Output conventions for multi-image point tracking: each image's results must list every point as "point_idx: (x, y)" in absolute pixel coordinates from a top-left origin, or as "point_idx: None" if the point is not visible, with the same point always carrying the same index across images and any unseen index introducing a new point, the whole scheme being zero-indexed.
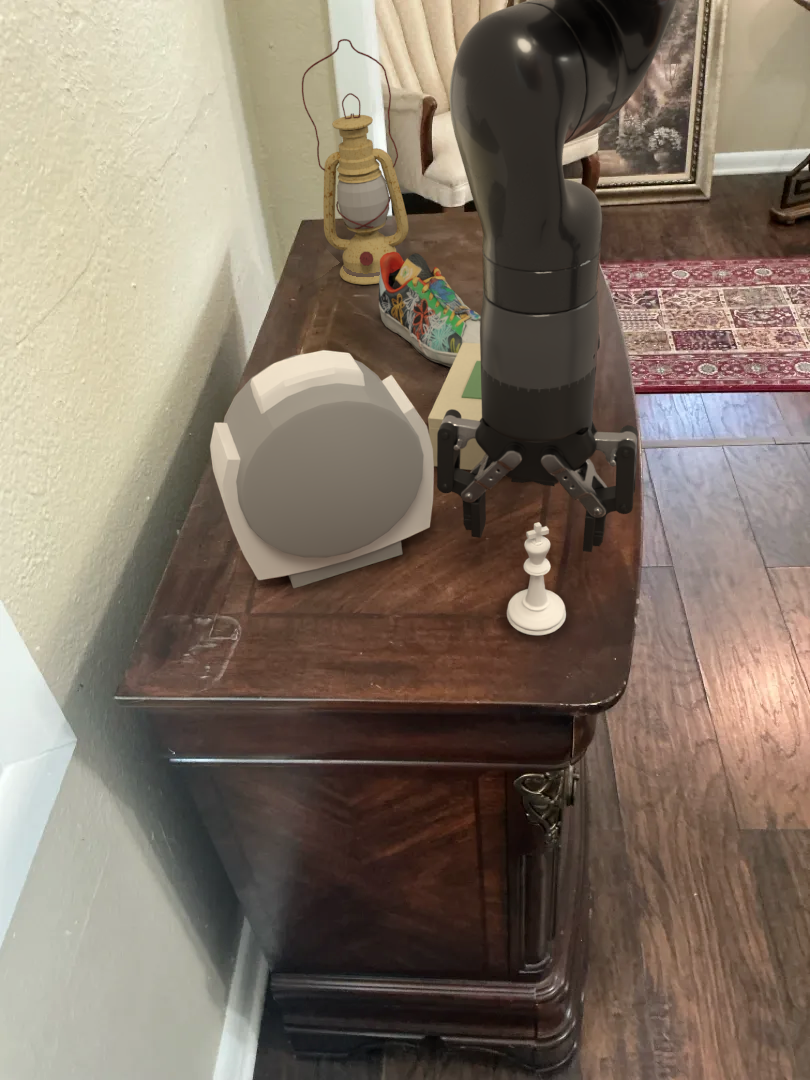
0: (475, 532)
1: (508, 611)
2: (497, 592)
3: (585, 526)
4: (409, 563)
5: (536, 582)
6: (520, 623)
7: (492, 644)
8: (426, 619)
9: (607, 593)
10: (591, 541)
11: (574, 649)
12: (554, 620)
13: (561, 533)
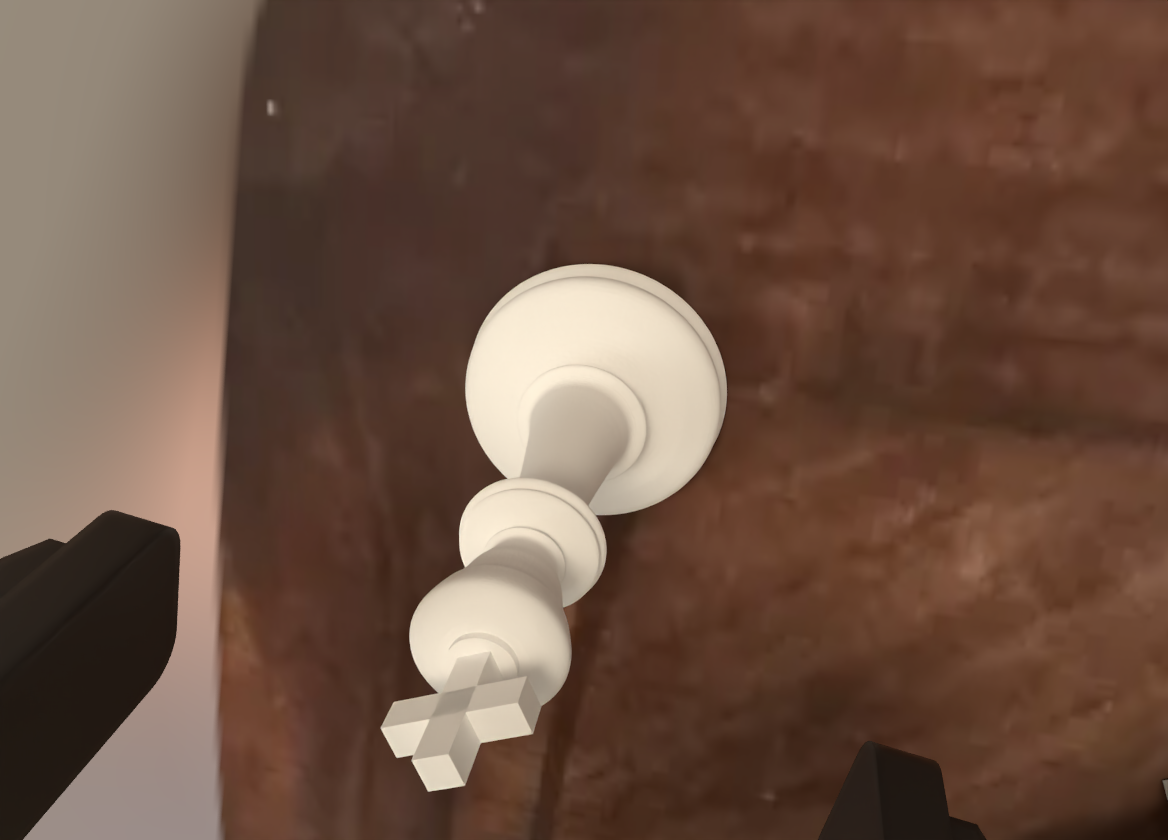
0: (915, 786)
1: (718, 397)
2: (755, 524)
3: (3, 667)
4: (1138, 729)
5: (553, 469)
6: (668, 317)
7: (813, 228)
8: (1120, 408)
9: (304, 465)
10: (51, 562)
11: (441, 173)
12: (511, 319)
13: (473, 770)
